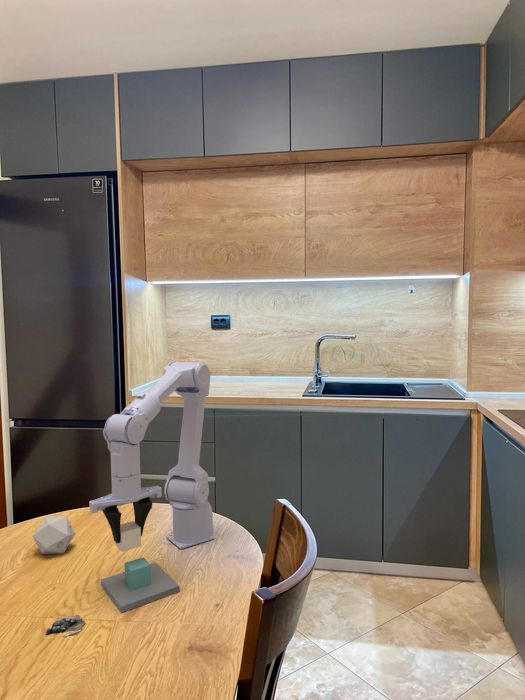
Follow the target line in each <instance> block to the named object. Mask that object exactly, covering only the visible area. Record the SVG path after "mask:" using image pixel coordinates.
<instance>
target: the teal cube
mask: <svg viewBox="0 0 525 700" xmlns="http://www.w3.org/2000/svg"><path fill="white" fill-rule="evenodd" d="M150 564H151V563H150V562H149V561H147V560H146V559H145V558H144V556H143V557H140V558H137V559H133V560H130V561H127V562H124V572H125V582H126V584H127V585H128V586H129V587H130V589H131V590H132V591H133V590H136V589H139V588H141V587H144V586H147V585H150V584H151V565H150Z"/></svg>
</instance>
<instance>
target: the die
mask: <svg viewBox="0 0 525 700" xmlns="http://www.w3.org/2000/svg"><path fill="white" fill-rule="evenodd" d="M75 535H76V532H75V530H74V528H73V526H72V524H71V521H70V520H69V518H68V517H67V516H46V517H45V518H44V519H43V520H42V522H41V523H40V524H39V525H38V528H37V529H36V531H35V532H34V533H33V534H32V538H33V540H34V542H35V544H36V545H37V548H38V549H39V551H40V553H41V554H42V555H45V554H47V555H49V554H54V555H55V554H56V555H57V554H64V553H65V551H66V550H67V548H68V546H69V545H70V543H71V542H72V540H73V539H74V537H75Z"/></svg>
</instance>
